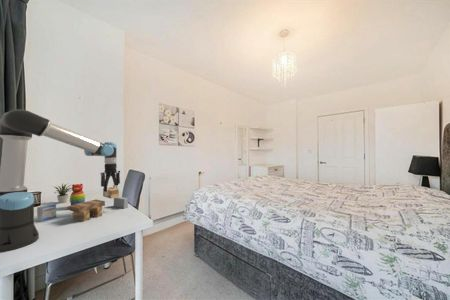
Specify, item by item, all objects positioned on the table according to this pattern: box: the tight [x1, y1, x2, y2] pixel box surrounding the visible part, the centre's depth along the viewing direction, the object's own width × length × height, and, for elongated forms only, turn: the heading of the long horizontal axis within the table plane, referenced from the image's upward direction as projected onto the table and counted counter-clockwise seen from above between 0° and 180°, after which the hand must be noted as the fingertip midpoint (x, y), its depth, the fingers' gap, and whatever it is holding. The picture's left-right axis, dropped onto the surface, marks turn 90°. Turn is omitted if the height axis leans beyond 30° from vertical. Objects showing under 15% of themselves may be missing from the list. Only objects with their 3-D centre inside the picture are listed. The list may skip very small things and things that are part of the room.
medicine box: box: [36, 203, 57, 222], centre depth 120 cm, size 8×4×9 cm, turn 168°
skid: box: [102, 186, 120, 199], centre depth 138 cm, size 12×5×6 cm, turn 57°
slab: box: [68, 199, 106, 213], centre depth 123 cm, size 16×10×3 cm, turn 156°
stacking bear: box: [67, 183, 86, 211], centre depth 144 cm, size 11×10×18 cm
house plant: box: [54, 182, 72, 204], centre depth 154 cm, size 14×14×16 cm
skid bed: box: [72, 206, 103, 222], centre depth 123 cm, size 11×12×6 cm
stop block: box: [113, 196, 129, 209], centre depth 145 cm, size 3×12×7 cm, turn 66°
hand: (110, 194), depth 138 cm, fingers closed on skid, 5 cm apart
